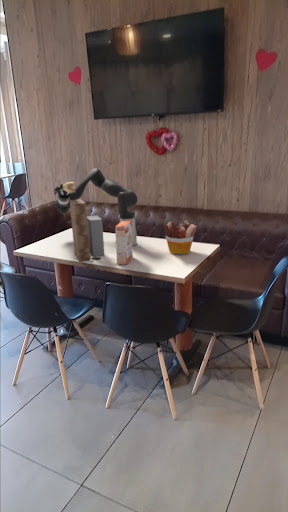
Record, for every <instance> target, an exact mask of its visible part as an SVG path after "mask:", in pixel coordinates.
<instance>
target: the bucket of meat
mask: <svg viewBox="0 0 288 512" xmlns="http://www.w3.org/2000/svg"><path fill="white" fill-rule="evenodd" d="M183 222H184V223H179V225H176V224H175V223H176V222H175V221H169V222H168V223H167V224H166V223H165V224H164V225H163V226H164V231H165V234H166V235H165V239H166V243H167V248H168V251H169V252H170V254H172V253H173V254H172V255H175V254H185V255H187V254H186V253H188V252H189V253H191V248H192V245H193V240H194V236H195V233H196V230H197V228H198V227H197V225H195V224H193V223H191V224H190V222H189V221H188V220H184V221H183ZM189 253H188V254H189Z"/></svg>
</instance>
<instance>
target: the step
mask: <svg viewBox="0 0 288 512" xmlns="http://www.w3.org/2000/svg"><path fill="white" fill-rule="evenodd" d="M87 226H88V238H89V251H90V256H91V257H92V258H93V259H94V258H101V257H102V258H103V257H105V244H104V241H105V240H104V229H103V228H104V227H103V219H102V218H101V217H100V216H98V215H89V216H88V215H87Z"/></svg>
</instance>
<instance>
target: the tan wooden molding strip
mask: <svg viewBox="0 0 288 512" xmlns="http://www.w3.org/2000/svg"><path fill="white" fill-rule="evenodd" d="M75 183H76V182H73V181H67V182H64V184H63V190H64V191H66V192H68V193H72V192H75V188H76V184H75Z"/></svg>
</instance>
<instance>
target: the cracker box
mask: <svg viewBox="0 0 288 512" xmlns="http://www.w3.org/2000/svg"><path fill="white" fill-rule="evenodd" d="M114 228H115V230H114V231H115V249H116V250H115V251H116V264H117V265H126V266H127V265H128V263H129V262H130V261H131V259H132V258H133V254H134V253H133V246H132V221H121V222H120V221H119V223H118V224H116V225H115V227H114Z"/></svg>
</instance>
